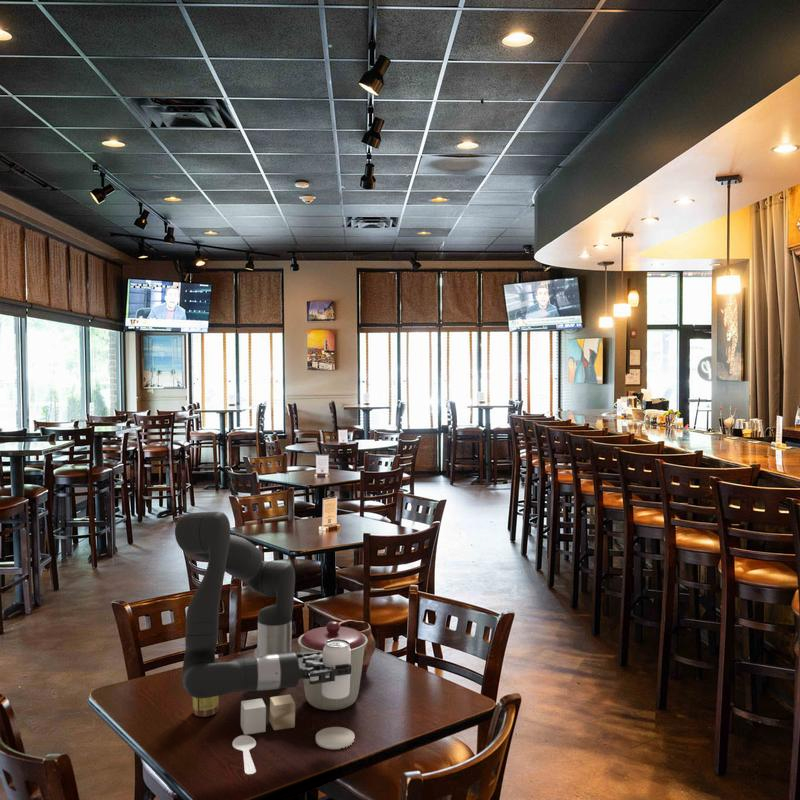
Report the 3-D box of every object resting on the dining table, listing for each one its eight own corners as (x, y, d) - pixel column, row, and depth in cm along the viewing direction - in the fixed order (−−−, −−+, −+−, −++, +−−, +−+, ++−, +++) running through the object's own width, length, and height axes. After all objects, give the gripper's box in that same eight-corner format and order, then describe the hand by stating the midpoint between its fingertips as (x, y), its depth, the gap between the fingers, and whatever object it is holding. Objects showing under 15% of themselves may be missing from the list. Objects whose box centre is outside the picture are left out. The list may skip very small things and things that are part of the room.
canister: (282, 702, 190) (283, 621, 190) (332, 682, 204) (334, 607, 204) (330, 724, 179) (332, 638, 178) (380, 702, 192) (382, 621, 192)
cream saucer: (309, 745, 168) (309, 741, 168) (325, 728, 176) (325, 724, 176) (345, 752, 165) (345, 747, 165) (360, 734, 174) (360, 730, 174)
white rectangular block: (244, 735, 172) (244, 709, 172) (240, 725, 177) (241, 701, 177) (265, 731, 174) (266, 706, 174) (261, 722, 179) (261, 698, 179)
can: (345, 701, 167) (346, 649, 167) (317, 698, 168) (319, 646, 168) (352, 690, 173) (354, 640, 173) (326, 687, 174) (328, 637, 174)
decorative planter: (388, 682, 205) (389, 633, 205) (348, 690, 199) (349, 639, 199) (357, 659, 223) (358, 613, 222) (319, 665, 217) (320, 618, 217)
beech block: (274, 730, 175) (274, 705, 175) (269, 721, 180) (270, 697, 180) (294, 727, 177) (295, 702, 177) (289, 718, 181) (290, 694, 181)
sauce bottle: (223, 709, 185) (224, 631, 185) (209, 720, 180) (210, 639, 179) (200, 705, 188) (202, 628, 187) (186, 715, 182) (187, 635, 181)
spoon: (238, 777, 154) (238, 775, 154) (230, 738, 171) (231, 736, 171) (263, 774, 156) (263, 771, 156) (254, 735, 173) (254, 733, 173)
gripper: (283, 665, 158) (356, 657, 165) (269, 644, 172) (337, 637, 178) (281, 700, 158) (355, 691, 165) (268, 676, 172) (336, 668, 178)
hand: (346, 663), depth 171 cm, fingers closed on can, 6 cm apart
